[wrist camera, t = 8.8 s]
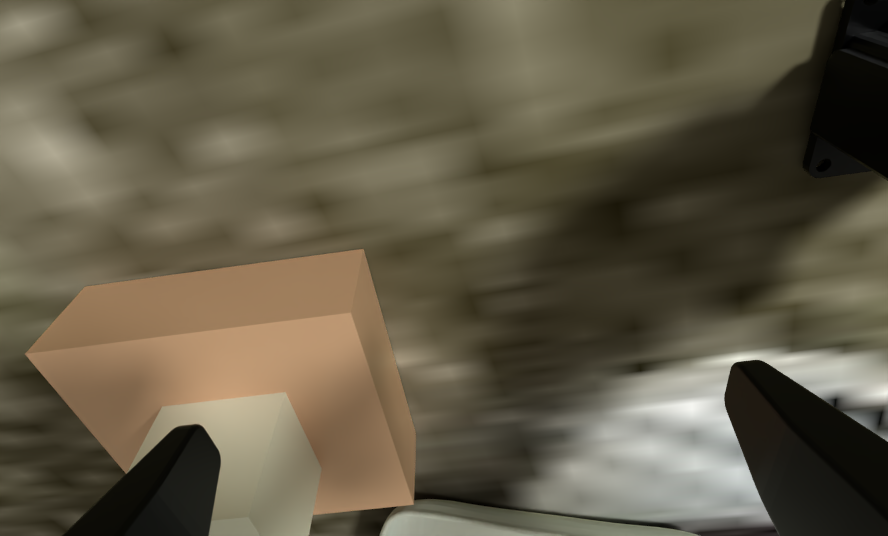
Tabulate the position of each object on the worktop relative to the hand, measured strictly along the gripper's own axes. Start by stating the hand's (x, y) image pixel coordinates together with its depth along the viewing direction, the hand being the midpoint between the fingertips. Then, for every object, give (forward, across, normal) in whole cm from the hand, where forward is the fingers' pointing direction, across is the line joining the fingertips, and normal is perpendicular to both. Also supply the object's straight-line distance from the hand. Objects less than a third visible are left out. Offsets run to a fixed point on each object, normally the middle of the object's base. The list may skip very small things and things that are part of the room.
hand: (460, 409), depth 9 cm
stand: (+12, +10, +10) cm, 19 cm away
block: (+8, +10, +10) cm, 16 cm away
